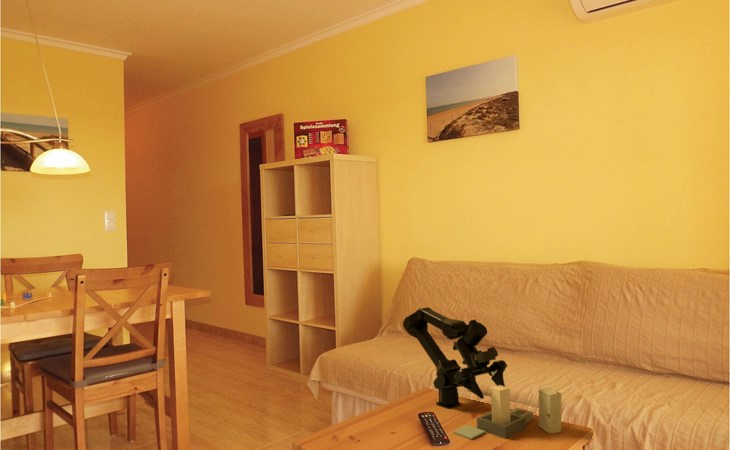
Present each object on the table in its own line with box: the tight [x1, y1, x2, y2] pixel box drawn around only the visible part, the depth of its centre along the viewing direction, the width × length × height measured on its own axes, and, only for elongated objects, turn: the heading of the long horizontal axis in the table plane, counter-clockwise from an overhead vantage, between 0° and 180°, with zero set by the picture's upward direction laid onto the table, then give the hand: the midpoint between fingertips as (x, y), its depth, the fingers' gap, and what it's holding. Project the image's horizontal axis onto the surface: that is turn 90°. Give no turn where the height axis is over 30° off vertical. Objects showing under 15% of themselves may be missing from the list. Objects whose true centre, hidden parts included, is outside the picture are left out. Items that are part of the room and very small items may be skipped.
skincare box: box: [538, 387, 562, 434], centre depth 168 cm, size 6×4×12 cm
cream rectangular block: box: [490, 385, 511, 425], centre depth 170 cm, size 4×4×13 cm
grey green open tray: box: [476, 407, 534, 440], centre depth 173 cm, size 10×18×4 cm, turn 130°
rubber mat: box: [452, 424, 487, 440], centre depth 168 cm, size 7×7×1 cm
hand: (494, 395), depth 173 cm, fingers open, 9 cm apart
